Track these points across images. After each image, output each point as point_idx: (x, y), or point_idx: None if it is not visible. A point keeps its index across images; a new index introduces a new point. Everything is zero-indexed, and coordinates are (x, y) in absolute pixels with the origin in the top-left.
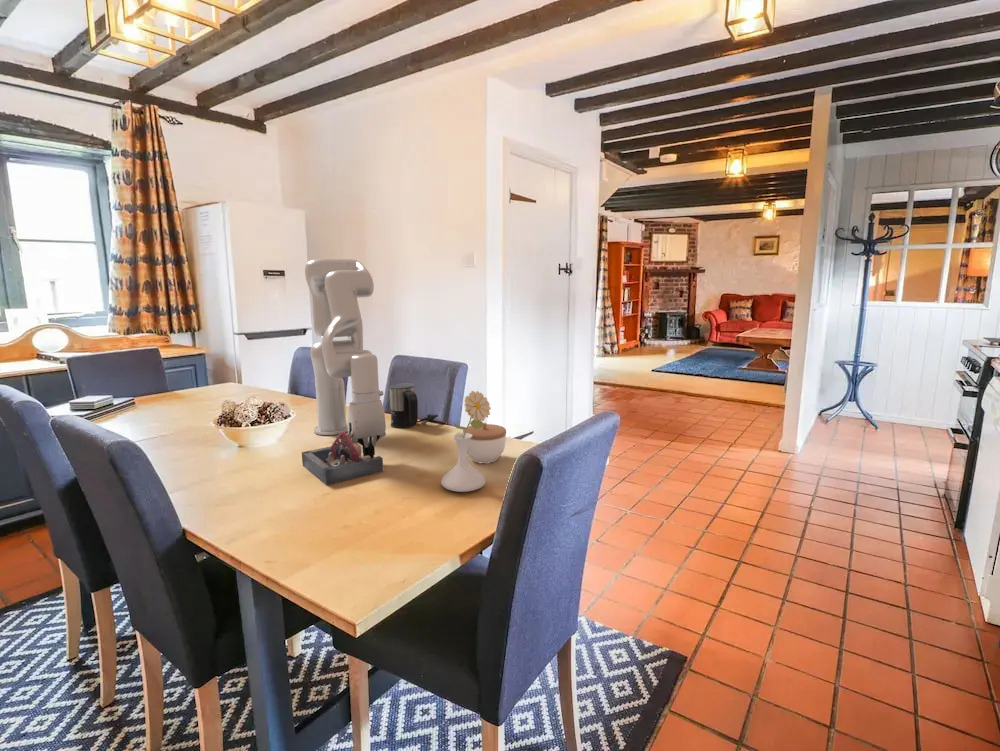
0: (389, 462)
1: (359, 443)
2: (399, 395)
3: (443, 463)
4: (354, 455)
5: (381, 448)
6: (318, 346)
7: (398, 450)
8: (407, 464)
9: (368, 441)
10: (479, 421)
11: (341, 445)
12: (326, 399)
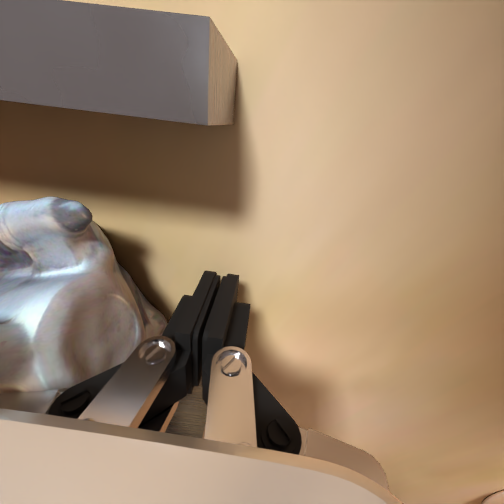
0: (298, 341)
1: (114, 368)
2: None
3: (421, 456)
4: None
5: (492, 78)
6: None
7: (501, 231)
8: (332, 397)
9: (211, 368)
10: None
11: (10, 56)
12: None
